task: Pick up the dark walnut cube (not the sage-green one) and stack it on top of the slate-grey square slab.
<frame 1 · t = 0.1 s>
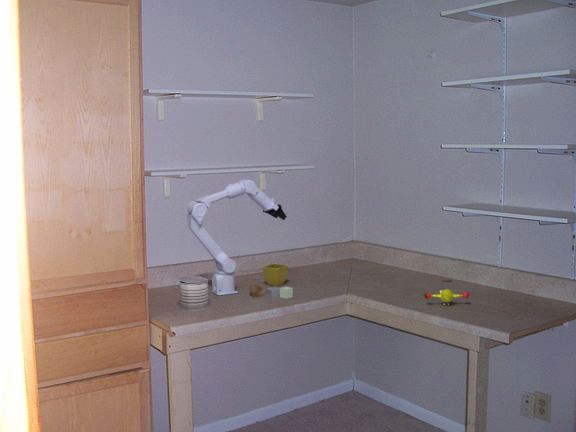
hand: (281, 217, 289), 32 cm above the table, tool tilted 50°, fingers open, 7 cm apart
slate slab: (274, 295, 276), on the table
flower pot: (275, 285, 295), on the table
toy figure: (446, 306, 255), on the table
sage cube: (286, 297, 272), on the table
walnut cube: (256, 296, 274), on the table
can: (194, 307, 256), on the table
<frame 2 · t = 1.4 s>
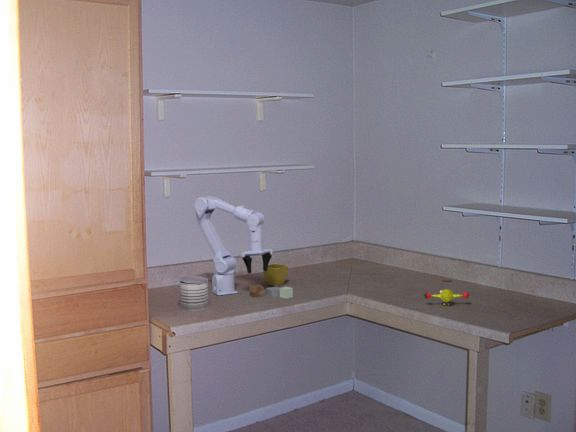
hand: (257, 271, 273), 11 cm above the table, tool pointing down, fingers open, 7 cm apart
nothing on the table moved.
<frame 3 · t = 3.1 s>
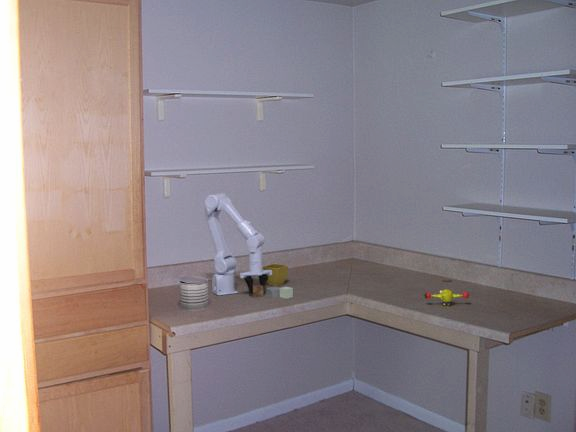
hand: (256, 292, 274), 1 cm above the table, tool pointing down, fingers closed on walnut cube, 4 cm apart
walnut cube: (256, 295, 274), on the table, touching gripper
everything else where it was.
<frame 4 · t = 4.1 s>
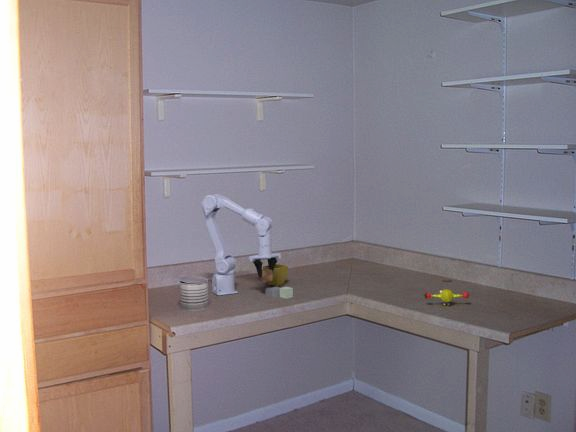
hand: (265, 276, 274), 9 cm above the table, tool pointing down, fingers closed on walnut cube, 4 cm apart
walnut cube: (265, 280, 274), point 7 cm above the table, touching gripper
everything else where it was.
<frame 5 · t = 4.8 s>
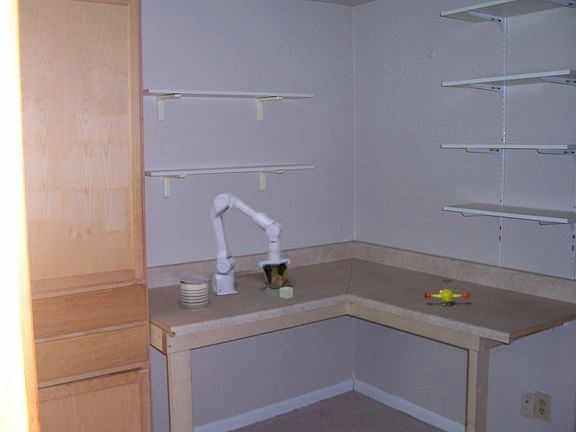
hand: (274, 281, 275), 6 cm above the table, tool pointing down, fingers closed on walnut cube, 4 cm apart
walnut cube: (275, 285, 275), point 4 cm above the table, touching gripper
everything else where it was.
when the fingers open (6 cm above the table, at t = 5.3 s): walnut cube drops 1 cm, resting on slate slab.
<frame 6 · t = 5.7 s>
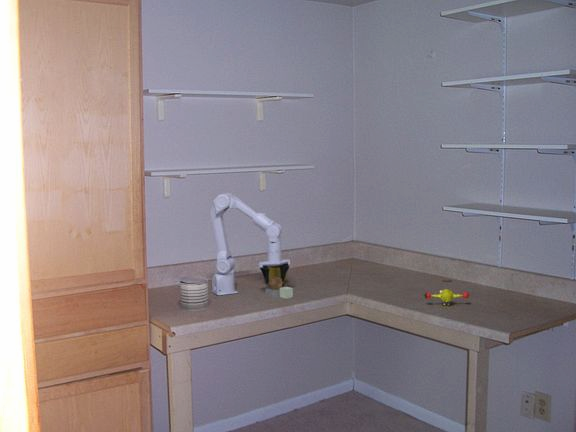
hand: (274, 282, 275), 6 cm above the table, tool pointing down, fingers open, 7 cm apart
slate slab: (274, 295, 276), on the table, touching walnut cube
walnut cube: (275, 288, 275), point 3 cm above the table, touching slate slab
everything else where it was.
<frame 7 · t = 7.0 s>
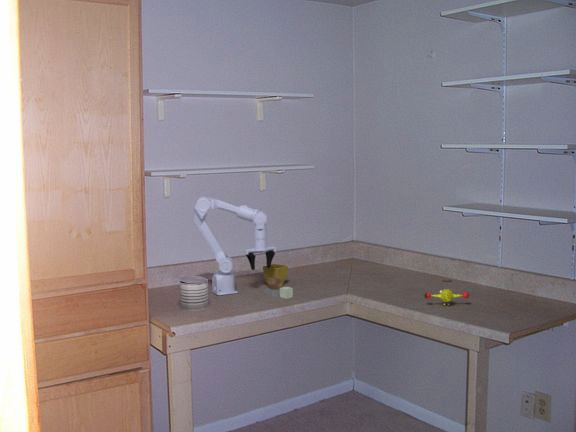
hand: (260, 268, 280), 10 cm above the table, tool pointing down, fingers open, 7 cm apart
nothing on the table moved.
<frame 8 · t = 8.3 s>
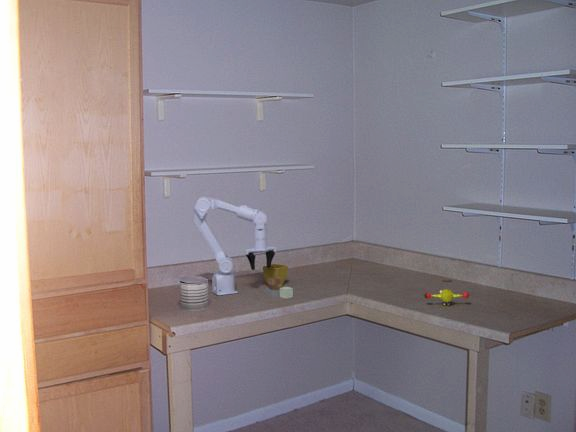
hand: (260, 268, 280), 10 cm above the table, tool pointing down, fingers open, 7 cm apart
nothing on the table moved.
at the end: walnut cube 0.4 cm off-centre on the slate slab, point 3.0 cm above the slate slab's base; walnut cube tilted 0°; the gripper is holding nothing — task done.
